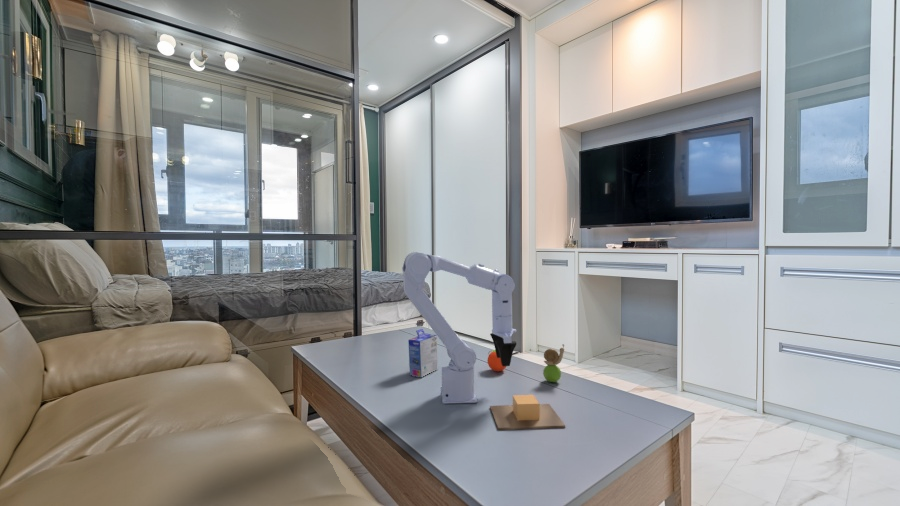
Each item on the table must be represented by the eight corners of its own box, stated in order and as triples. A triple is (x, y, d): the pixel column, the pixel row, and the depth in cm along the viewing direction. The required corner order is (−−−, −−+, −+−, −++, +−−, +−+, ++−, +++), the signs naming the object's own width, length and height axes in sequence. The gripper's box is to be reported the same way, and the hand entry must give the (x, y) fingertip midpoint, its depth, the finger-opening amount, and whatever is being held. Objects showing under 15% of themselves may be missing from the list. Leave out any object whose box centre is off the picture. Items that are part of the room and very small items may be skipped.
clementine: (481, 369, 130) (480, 349, 130) (494, 365, 135) (494, 345, 135) (498, 375, 124) (498, 354, 124) (511, 371, 129) (511, 350, 129)
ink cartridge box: (425, 367, 134) (425, 326, 134) (438, 369, 131) (438, 328, 131) (408, 375, 126) (407, 332, 125) (421, 378, 123) (420, 334, 122)
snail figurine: (565, 385, 115) (565, 346, 115) (543, 384, 117) (543, 345, 116) (563, 379, 121) (563, 342, 120) (542, 378, 122) (542, 341, 122)
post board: (498, 430, 88) (498, 417, 88) (490, 407, 100) (490, 396, 100) (565, 427, 89) (565, 415, 89) (549, 405, 101) (549, 394, 101)
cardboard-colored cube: (517, 420, 92) (517, 404, 92) (512, 410, 97) (512, 395, 97) (539, 419, 92) (539, 403, 92) (533, 410, 98) (533, 394, 98)
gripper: (522, 319, 102) (523, 369, 102) (510, 309, 116) (511, 353, 117) (496, 320, 102) (497, 370, 102) (487, 310, 116) (488, 354, 116)
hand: (503, 361), depth 109 cm, fingers open, 7 cm apart
